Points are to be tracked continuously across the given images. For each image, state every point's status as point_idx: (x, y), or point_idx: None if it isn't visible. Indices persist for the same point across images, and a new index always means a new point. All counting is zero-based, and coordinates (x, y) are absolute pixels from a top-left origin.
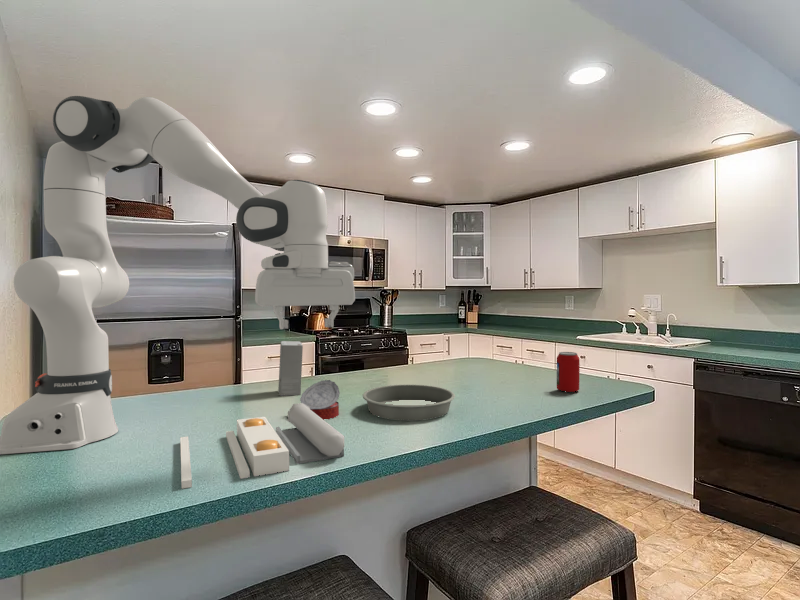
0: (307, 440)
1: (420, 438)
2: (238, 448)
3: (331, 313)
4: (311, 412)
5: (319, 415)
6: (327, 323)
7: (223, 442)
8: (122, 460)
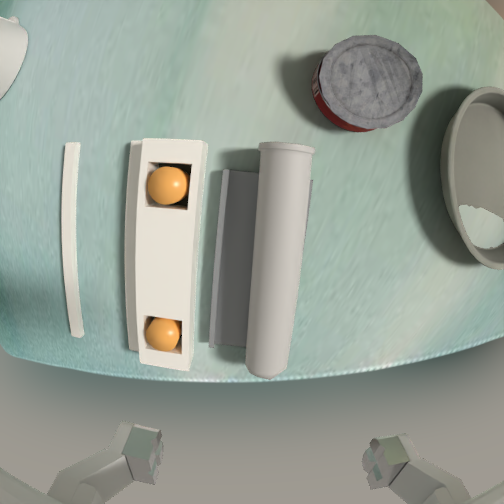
0: None
1: (416, 330)
2: (133, 256)
3: (423, 485)
4: (287, 235)
5: (343, 125)
6: (368, 471)
7: (125, 172)
8: (16, 192)
